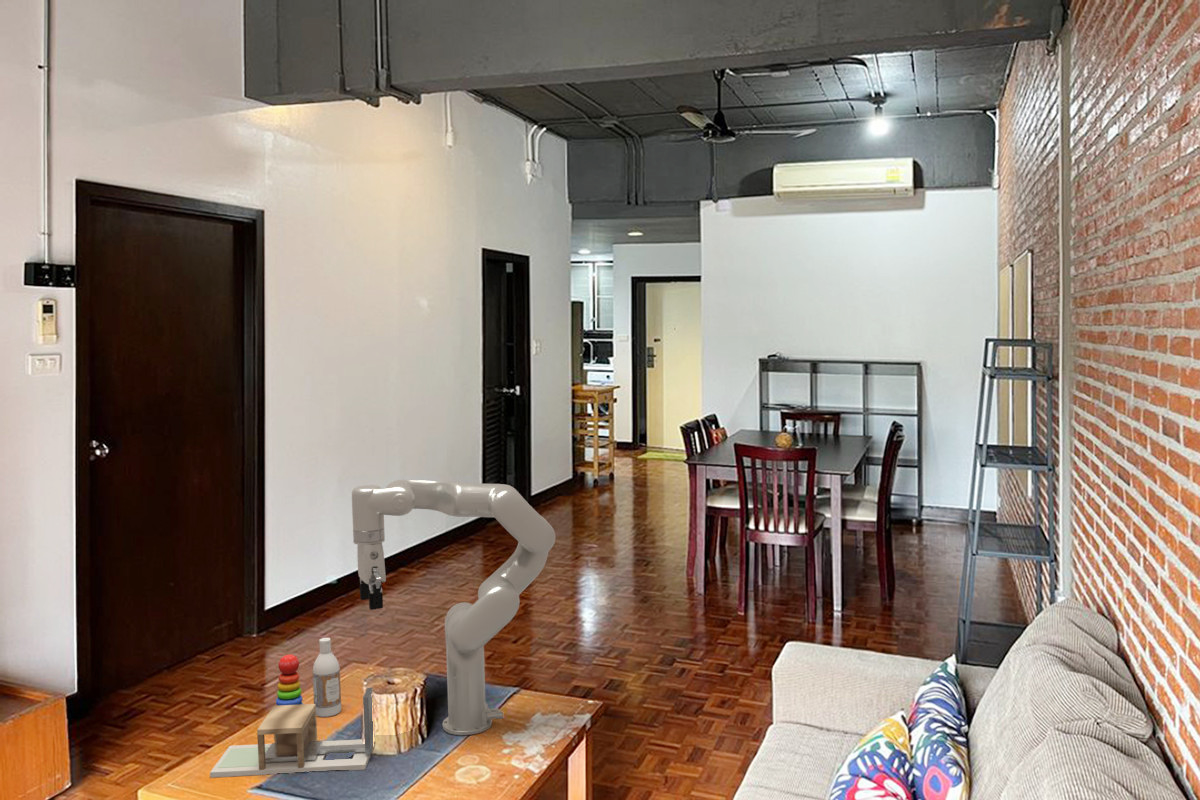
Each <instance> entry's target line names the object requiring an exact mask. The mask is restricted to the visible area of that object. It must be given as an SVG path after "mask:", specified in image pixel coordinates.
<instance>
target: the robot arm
mask: <svg viewBox="0 0 1200 800" xmlns="http://www.w3.org/2000/svg"><path fill="white" fill-rule="evenodd" d="M413 509H414V510H416V509H417V510H430V511H437V512H440V513H443V514H445V515H448V516H452V517H457V518H462V517H463V518H473V517H474V518H494V519H496V521H497V522H498V523H499V524H500V525H501V526H502V527H503V528H504V529H505V530H506V532H508V533H509V534H510V535H511V536H512V537H513V538H514V539H515V540H517V542H518V543H517V546H516V548H515V550H514V552H513V553H512V554H511V556H510V557H509V558H508V559H507V560H506V561H505V562H504V563H503V564H502V565H500V567H498V568H497V569H496V570H495V571H494V572H493V573H492V574H491V575H490V576H488V577H487V578H486V579H485V580H484V581H482V583H481V584H480V586H479V588H478V591H477V597H478V599H477V600H476V601H475V602H474V603H473V604H472V603H470V602H466V601H465V602H459V603H456V604H454V605H453V606H452V607H451V608H449V609H448V611H447V613H446V614H445V619H444V635H445V650H446V651H445V652H446V680H447V682H446V683H447V708H448V709H447V711H448V716H446V718H445V719H443V721H442V729H443V731H445V732H446V733H448V734H451V735H455V736H470V735H472V736H473V735H477V734H480V733H483V732H485V731H487V730H488V729H490V728H491V727H492V725H493V720H503V719H504V711H503V710H500V708H490V707H488V702H486V682H485V681H486V679H485V678H486V676H485V675H486V674H485V647H484V646H485V645H486V644H487V643H488V642H489V641H491V639H493V638H494V636H496V635H497V634H498V633H499V632H501V630H502V629H504V627H505V626H507V625H508V623H510V622H511V621H512V620H513V618H514V617H515V616H516V614H517V612H518V610H519V607H520V604H521V603H520V595H521V594H522V592H524V590H526V588H528V587H529V586H530V585H531V584H532V582H533V581H535V580H536V578H537V577H538V576H539V575H540V573H541V572H542V571H543V569H544V567H545V565H546V563H547V559H548V556H549V551H551V549H552V548H553V546H554V545H555V542H556V532H555V530H554V528H553V526H552V525H551V524H550V523H549V522H548V520H547V519H545V518H544V516H542V515H540V513H538V512H537V511H536V510H535V508H533V506H532V505H530V504H529V503H528V501H527V500H526V499H525V498H524V497H523V496H522V494H521V493H519V491H518V490H517V489H516V488H514V487H513V486H511V485H510V484H504V483H502V484H501V483H473V482H472V483H471V482H451V481H436V480H424V479H423V480H422V479H421V480H420V479H398V480H397V479H396V480H393V481H391V482H389V483H388V484H387V486H386V487H383V488H382V487H381V486H379V485H375V484H370V485H369V484H367V485H366V484H365V485H358V486H356V487H354V488H353V489H352V492H351V511H352V512H351V513H352V537H353V539H352V540H353V541H352V542H353V545H354V544H355V545H357V552H356V553H357V554H356V555H357V573H358V577H359V583H360V584H359V595H360V597H359V598H360V600H361V601H364V600H365V601H367V600H368V603H369V604H368V608H369V610H370V611H371V610H379V609H383V608H384V602H383V601H384V599H383V598H384V597H383V595H384V594H383V588H382V587H383V585H382V583H385V582H386V580H387V577H386V576H387V575H386V565H385V555H384V554H385V553H384V547H383V543H384V542H385V540H386V539H385V537H386V536H385V517H384V516H393V517H401V516H405V515H408V514H410V513H411V512H412V510H413Z"/></svg>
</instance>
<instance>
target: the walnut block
mask: <svg viewBox="0 0 1200 800" xmlns="http://www.w3.org/2000/svg"><path fill="white" fill-rule="evenodd" d="M303 741H304V751H305V750H306V748H307V746H308V744H309V731H308V723H307V725H306V726H305V728H304V730H303ZM276 749H277V756H279V755H297V734H296V733H286V734H276Z"/></svg>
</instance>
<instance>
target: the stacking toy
mask: <svg viewBox="0 0 1200 800" xmlns="http://www.w3.org/2000/svg"><path fill="white" fill-rule="evenodd" d="M299 667H300V660H299V659H298V657H297V656H295V654H285V655H283V656H282V657H281V658H280V659H279V661H278V669H279V671H280V673H281V674H279V676H278V681H279V682H278V684H277V689H278V690H277V692H276V694H277V695H276V696H277V698H276V700H275V703H276V704H275V706H279V705H301V704H304V703H303V696H302V688H301V687H300V686H301V681H299V679H300V674H299V672H297V671H298V669H299Z"/></svg>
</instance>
